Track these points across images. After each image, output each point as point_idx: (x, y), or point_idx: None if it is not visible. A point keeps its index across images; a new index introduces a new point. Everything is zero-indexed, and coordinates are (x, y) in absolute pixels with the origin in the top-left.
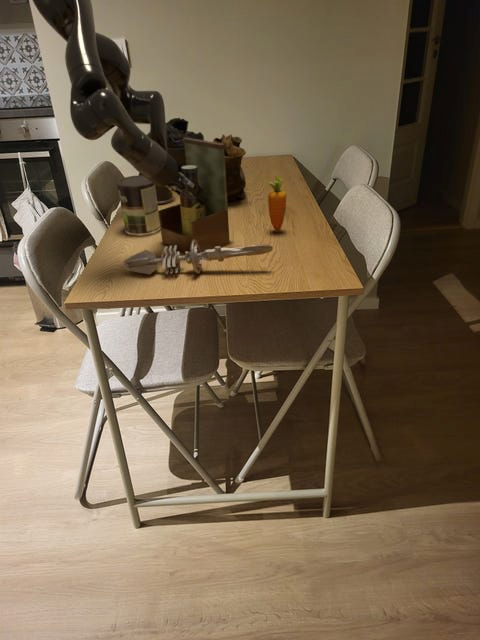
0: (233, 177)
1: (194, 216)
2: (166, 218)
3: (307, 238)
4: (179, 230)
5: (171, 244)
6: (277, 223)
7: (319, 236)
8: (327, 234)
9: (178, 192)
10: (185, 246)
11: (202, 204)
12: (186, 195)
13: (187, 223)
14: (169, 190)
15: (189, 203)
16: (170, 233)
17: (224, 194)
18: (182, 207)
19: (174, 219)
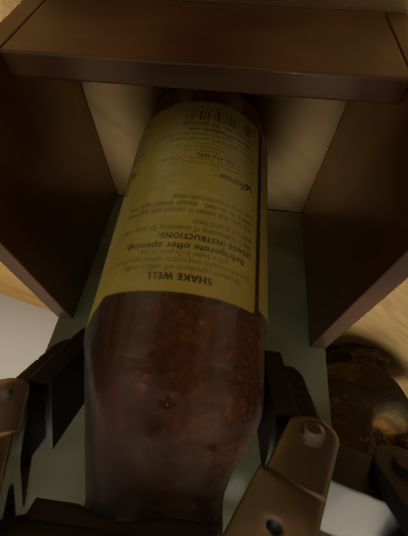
0: None
1: (113, 243)
2: (395, 178)
3: (23, 283)
4: (334, 172)
5: (295, 14)
6: None
7: (22, 293)
8: (25, 301)
9: (278, 424)
10: (123, 16)
11: (75, 335)
12: (112, 409)
13: (160, 183)
14: (395, 448)
15: (108, 332)
16: (292, 58)
17: None
18: (180, 288)
19: (355, 209)
